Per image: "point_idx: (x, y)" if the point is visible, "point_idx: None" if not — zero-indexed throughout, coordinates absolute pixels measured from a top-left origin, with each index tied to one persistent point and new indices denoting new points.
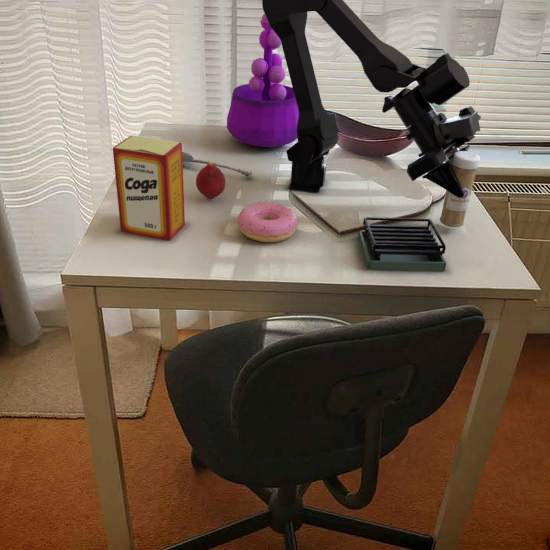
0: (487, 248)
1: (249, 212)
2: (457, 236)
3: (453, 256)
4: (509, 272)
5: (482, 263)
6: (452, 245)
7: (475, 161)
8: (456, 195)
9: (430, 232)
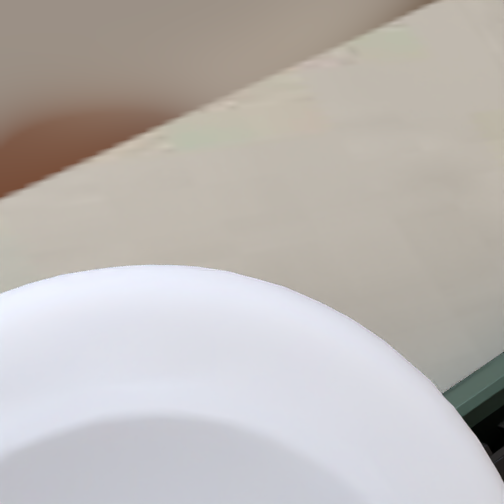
0: (285, 173)
1: None
2: None
3: (445, 294)
4: (438, 64)
5: (431, 170)
6: None
7: (379, 345)
8: None
9: (487, 446)
